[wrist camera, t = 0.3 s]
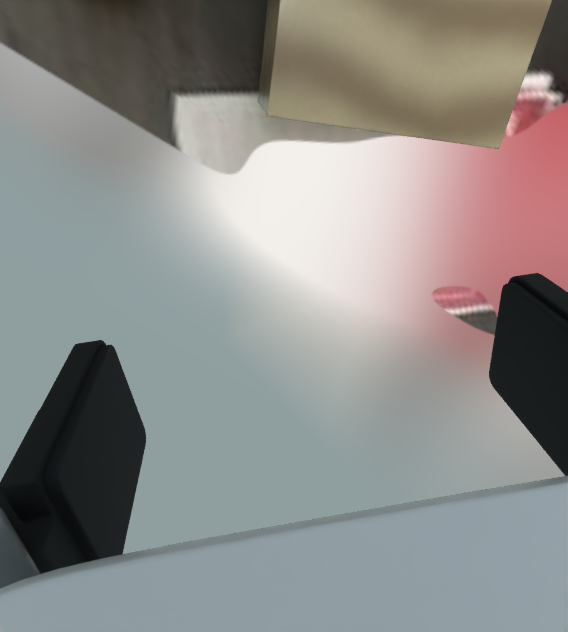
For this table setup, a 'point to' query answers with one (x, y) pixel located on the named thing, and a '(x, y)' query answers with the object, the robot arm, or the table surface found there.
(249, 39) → the table surface
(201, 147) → the table surface
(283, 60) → the cabinet
